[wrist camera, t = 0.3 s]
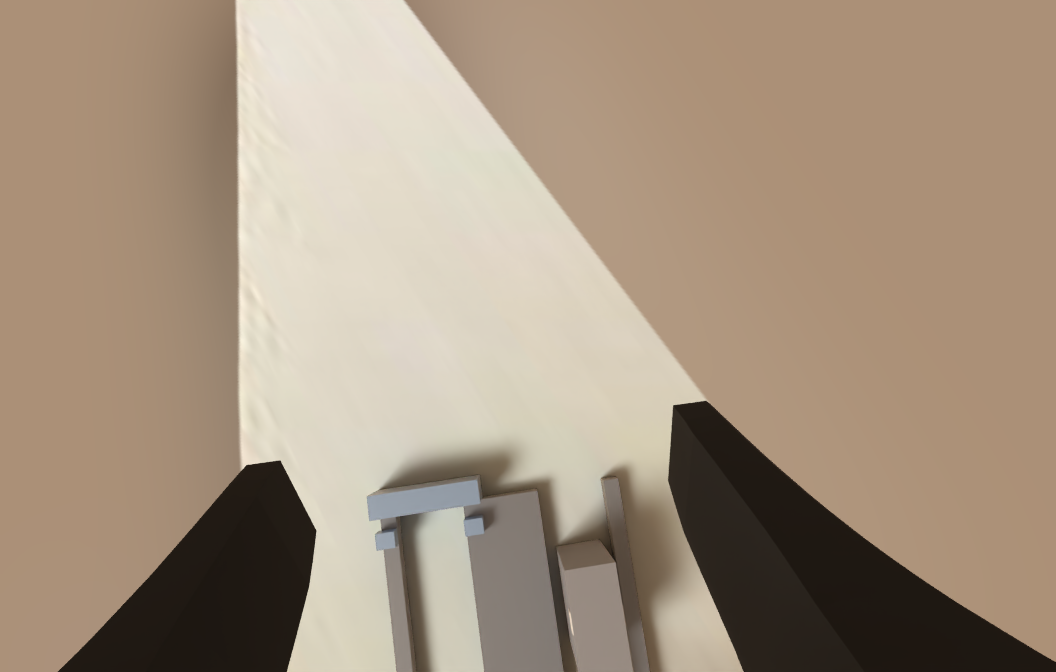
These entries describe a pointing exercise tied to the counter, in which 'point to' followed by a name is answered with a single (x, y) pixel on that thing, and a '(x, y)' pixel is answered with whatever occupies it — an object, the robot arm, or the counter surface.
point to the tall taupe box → (594, 608)
